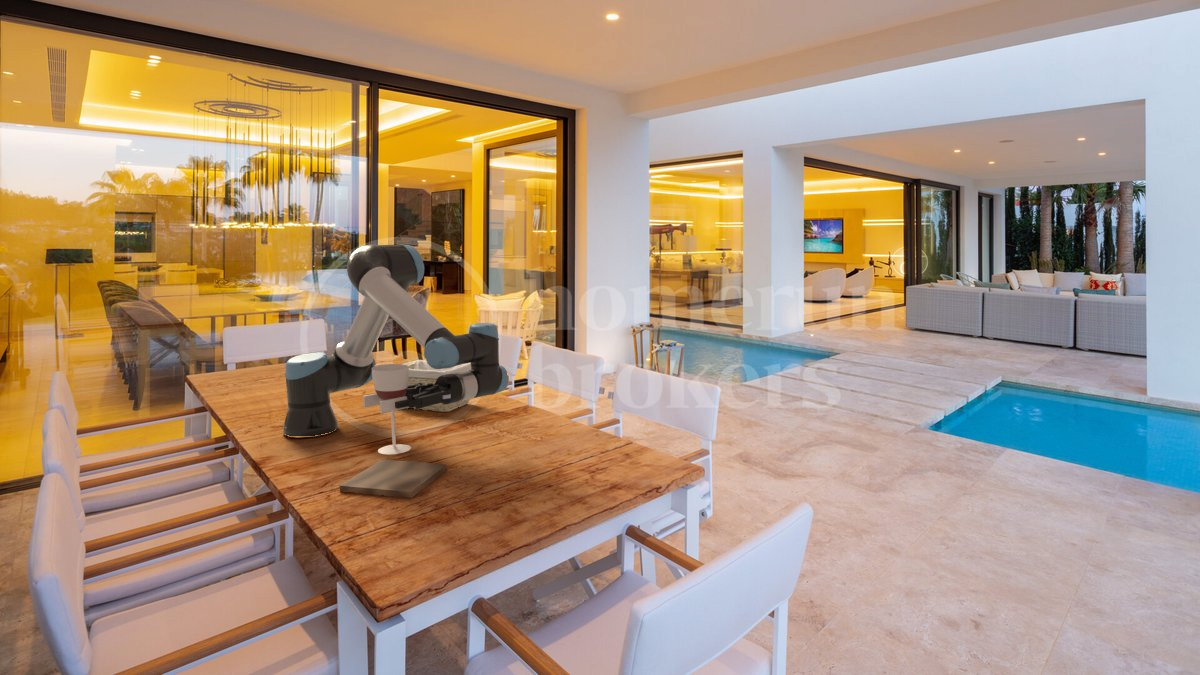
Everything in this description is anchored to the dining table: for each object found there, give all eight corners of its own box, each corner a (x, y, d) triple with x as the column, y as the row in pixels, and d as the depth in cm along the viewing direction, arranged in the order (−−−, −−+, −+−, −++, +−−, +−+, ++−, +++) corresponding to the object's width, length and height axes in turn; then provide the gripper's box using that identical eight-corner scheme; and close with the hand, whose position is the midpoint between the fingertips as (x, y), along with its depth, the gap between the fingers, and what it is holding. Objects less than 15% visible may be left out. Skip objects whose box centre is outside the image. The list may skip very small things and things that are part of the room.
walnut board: (339, 491, 144) (339, 485, 144) (382, 464, 161) (381, 459, 161) (411, 498, 140) (411, 491, 140) (446, 470, 158) (446, 464, 158)
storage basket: (390, 408, 218) (387, 366, 215) (419, 397, 233) (417, 358, 230) (448, 415, 209) (446, 371, 207) (474, 403, 224) (473, 363, 222)
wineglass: (396, 441, 155) (392, 362, 153) (419, 448, 151) (416, 366, 148) (368, 450, 149) (364, 368, 146) (392, 457, 144) (387, 372, 141)
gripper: (479, 408, 155) (395, 428, 138) (434, 395, 168) (352, 412, 151) (478, 378, 154) (394, 395, 137) (432, 368, 167) (350, 382, 150)
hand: (372, 404), depth 144 cm, fingers closed on wineglass, 7 cm apart
